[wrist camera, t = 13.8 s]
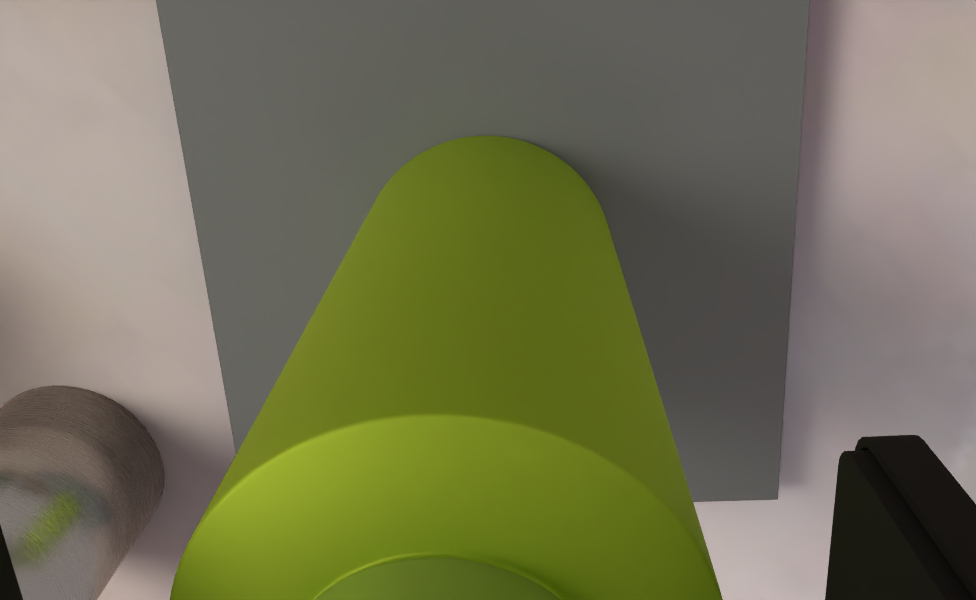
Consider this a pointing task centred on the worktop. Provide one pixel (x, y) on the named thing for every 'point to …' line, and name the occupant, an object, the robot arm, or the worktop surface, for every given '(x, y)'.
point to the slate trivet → (527, 117)
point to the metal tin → (73, 489)
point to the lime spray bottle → (462, 413)
